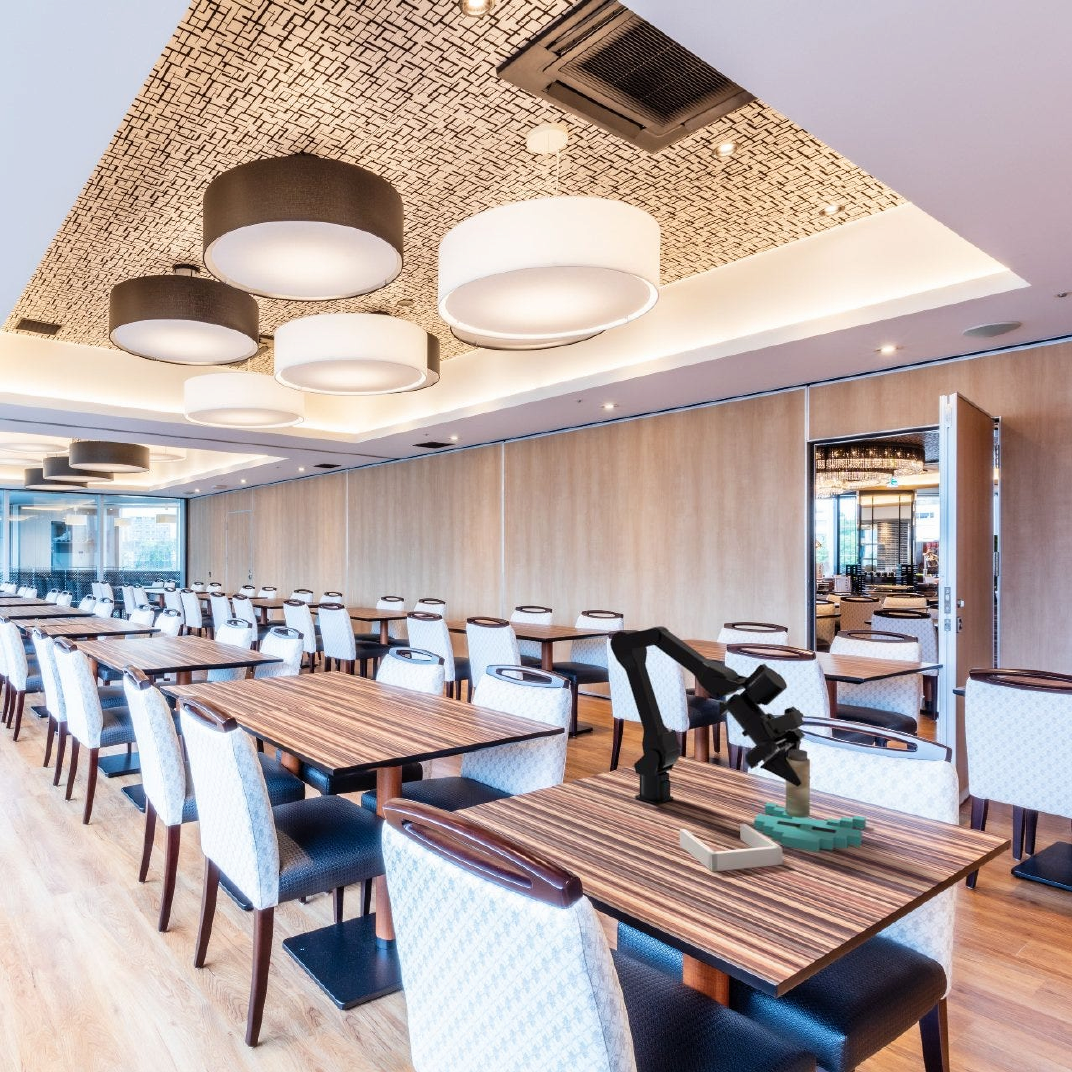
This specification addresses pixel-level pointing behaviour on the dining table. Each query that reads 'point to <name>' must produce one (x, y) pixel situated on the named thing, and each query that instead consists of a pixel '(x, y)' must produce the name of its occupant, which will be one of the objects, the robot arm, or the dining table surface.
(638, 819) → the dining table surface
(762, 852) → the u-shaped frame
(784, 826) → the alien figure
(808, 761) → the pepper mill
